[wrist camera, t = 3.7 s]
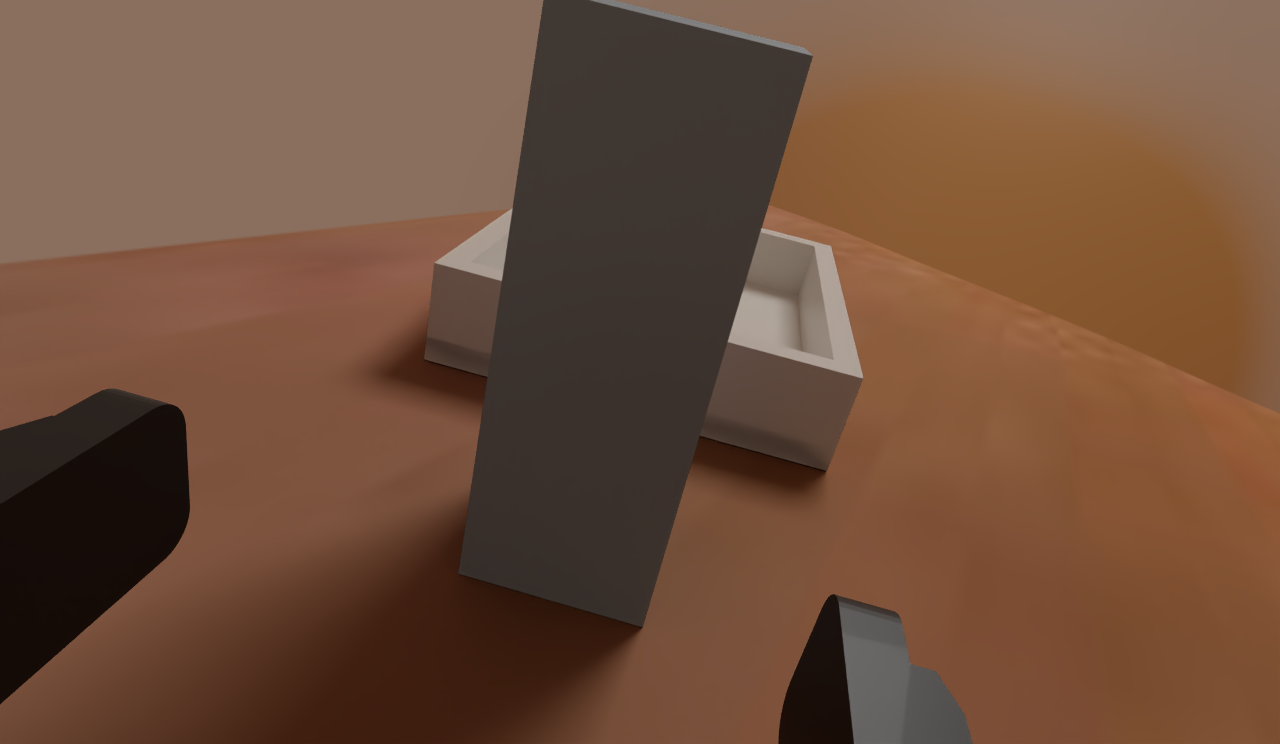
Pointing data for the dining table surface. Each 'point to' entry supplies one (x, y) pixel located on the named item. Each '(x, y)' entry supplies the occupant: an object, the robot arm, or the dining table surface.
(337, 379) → the dining table surface
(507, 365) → the slate block
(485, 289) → the tray
